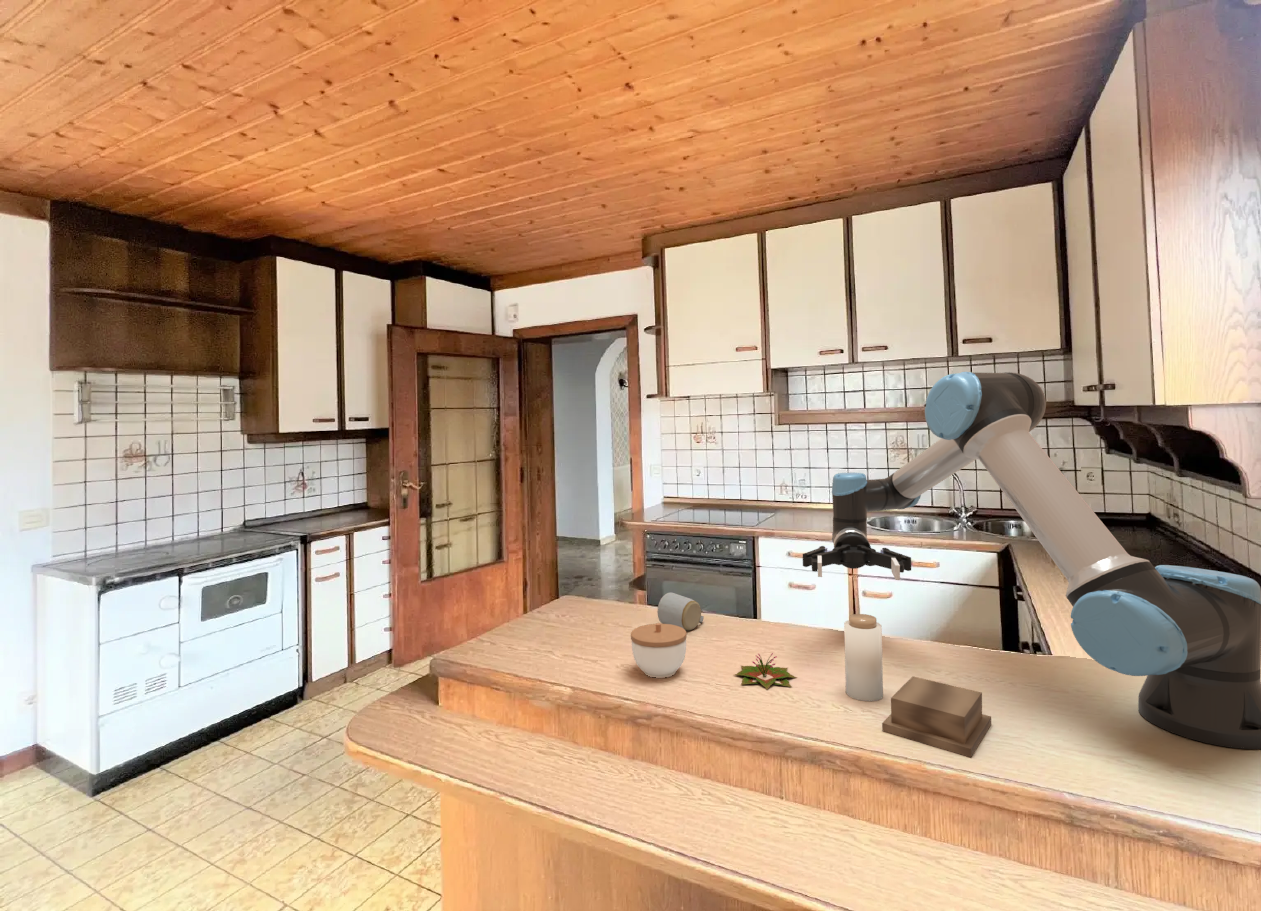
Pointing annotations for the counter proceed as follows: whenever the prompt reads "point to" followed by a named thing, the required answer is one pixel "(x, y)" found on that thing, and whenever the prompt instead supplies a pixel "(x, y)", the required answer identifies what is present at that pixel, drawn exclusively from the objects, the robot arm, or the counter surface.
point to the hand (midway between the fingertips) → (858, 571)
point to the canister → (863, 658)
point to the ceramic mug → (679, 611)
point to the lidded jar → (659, 649)
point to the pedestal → (938, 715)
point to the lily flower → (765, 674)
